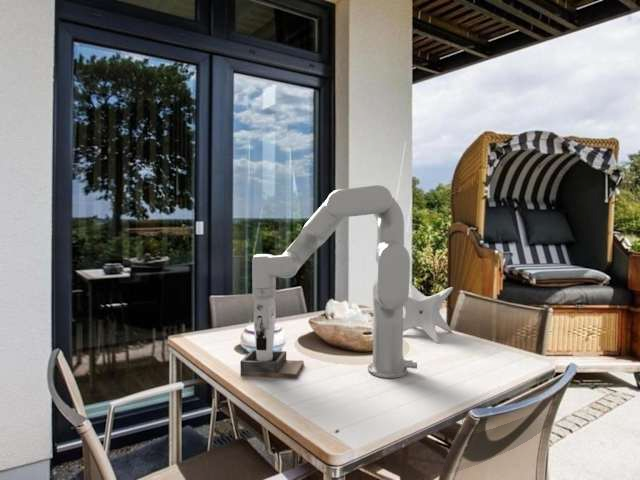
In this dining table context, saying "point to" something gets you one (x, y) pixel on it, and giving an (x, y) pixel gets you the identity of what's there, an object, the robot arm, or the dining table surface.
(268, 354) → the white cup
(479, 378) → the dining table surface
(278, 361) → the open box
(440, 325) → the grey spiky star shape
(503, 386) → the dining table surface
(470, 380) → the dining table surface
